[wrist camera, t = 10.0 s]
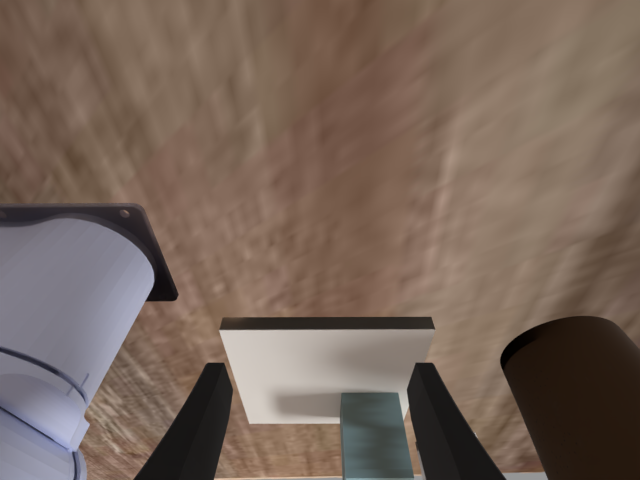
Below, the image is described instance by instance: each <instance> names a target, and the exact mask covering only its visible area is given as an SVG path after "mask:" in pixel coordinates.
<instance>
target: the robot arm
mask: <svg viewBox="0 0 640 480" xmlns="http://www.w3.org/2000/svg"><path fill="white" fill-rule="evenodd" d="M124 210H126V211H127V212H128V213H129V214H128V213H126V212H124ZM178 296H179V294H178V291H177V289H176V286H175V284H174V281H173V279H172V276H171V274H170V271H169V269H168V266H167V264H166V261H165V259H164V256H163V254H162V251H161V249H160V247H159V244H158V242H157V239H156V237H155V234H154V232H153V229H152V227H151V224H150V222H149V219H148V217H147V214H146V212H145V210H144V208H143V207H142V206H141V205H139V204H137V203H12V204H0V480H87V469H86V462H85V459H84V456H83V454H82V453H81V451H80V450H79V448H78V447H79V445H80V443H81V441H82V439H83V437H84V435H85V433H86V431H87V429H88V427H89V425H90V424H89V423H88V422H87V421H86V420H85V418H84V414H85V411H86V409H87V408H88V406H89V404H90V402H91V401H92V399H93V397H94V395H95V393H96V391H97V390H98V388H99V386H100V384H101V382H102V380H103V378H104V377H105V375H106V373H107V371H108V369H109V367H110V365H111V364H112V362H113V360H114V358H115V356H116V354H117V352H118V351H119V349H120V347H121V345H122V343H123V341H124V340H125V338H126V336H127V334H128V332H129V330H130V328H131V327H132V325H133V323H134V321H135V319H136V317H137V315H138V314H139V312H140V310H141V308H142V306H143V304H144V302H157V301H175V300H177V298H178ZM232 395H233V387H232V384H231V381H230V378H229V375H228V372H227V369H226V366H225V363H207V364H206V365H205V367H204V369H203V371H202V373H201V375H200V376H199V378H198V380H197V382H196V384H195V386H194V387H193V389H192V391H191V393H190V394H189V396H188V398H187V400H186V401H185V403H184V405H183V406H182V408H181V410H180V411H179V413H178V415H177V416H176V418H175V419H174V421H173V423H172V424H171V426H170V427H169V429H168V431H167V432H166V434H165V435H164V437H163V438H162V439H161V441H160V442H159V444H158V445H157V447H156V448H155V450H154V451H153V453H152V454H151V456H150V457H149V459H148V460H147V461H146V463H145V464H144V466H143V467H142V468H141V470H140V471H139V472H138V474H137V475H136V476H135V478H134V479H133V480H214V477H215V473H216V469H217V465H218V461H219V457H220V453H221V449H222V445H223V442H224V437H225V433H226V429H227V425H228V421H229V416H230V410H231V403H232ZM407 395H408V403H409V410H410V416H411V421H412V425H413V429H414V433H415V437H416V442H417V445H418V449H419V453H420V457H421V461H422V465H423V469H424V473H425V477H426V480H507V479H506V478H505V477H504V475H503V474H502V473H501V471H500V470H499V468H498V467H497V466H496V464H495V463H494V462H493V460H492V459H491V457H490V456H489V454H488V453H487V452H486V450H485V449H484V447H483V446H482V444H481V443H480V441H479V440H478V438H477V437H476V435H475V434H474V432H473V431H472V429H471V428H470V426H469V424H468V423H467V421H466V420H465V418H464V416H463V415H462V413H461V412H460V410H459V408H458V407H457V405H456V403H455V402H454V400H453V398H452V396H451V395H450V393H449V391H448V389H447V388H446V386H445V384H444V382H443V380H442V378H441V377H440V375H439V373H438V371H437V369H436V367H435V365H434V364H433V363H415V366H414V369H413V372H412V375H411V378H410V381H409V384H408V387H407Z"/></svg>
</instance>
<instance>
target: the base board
mask: <svg viewBox="0 0 640 480" xmlns="http://www.w3.org/2000/svg"><path fill="white" fill-rule="evenodd" d="M219 332H220V335H221V338H222V341H223V344H224V347H225V350H226V353H227V357H228V360H229V363H230V366H231V369H232V372H233V375H234V378H235V381H236V384H237V387H238V390H239V393H240V397H241V400H242V403H243V406H244V409H245V412H246V415H247V418H248V421H249V424H340V406H341V393H398V394H399V399H400V405H401V410H402V415H403V421H404V418H405V415H406V413H407V410H408V407H409V403H408V395H407V387H408V384H409V381H410V378H411V375H412V372H413V369H414V366H415V363H424V361H425V358H426V356H427V353H428V350H429V347H430V344H431V341H432V338H433V336H434V333H435V327H434V323H433V320H432V317H223V318H222V322H221V325H220V329H219Z"/></svg>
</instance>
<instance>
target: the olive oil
mask: <svg viewBox="0 0 640 480" xmlns="http://www.w3.org/2000/svg"><path fill="white" fill-rule="evenodd" d="M500 365H501V368H502V370H503V373H504V375H505V378H506V380H507V382H508V385H509V387H510V389H511V392H512V394H513V396H514V398H515V401H516V403H517V405H518V408H519V410H520V412H521V416H522V417H523V420H524V423H525V425H526V427H527V430H528V432H529V434H530V437H531V439H532V442H533V444H534V447H535V449H536V452H537V454H538V456H539V459H540V461H541V464H542V466H543V469H544V471H545V474H546V476H547V478H548V480H640V349H639V348H638V347H637V345H636V344H635V343H634V342H633V341H632V340H631V339H630V338H629V337H628V336H627V334H626V333H625V332H624V331H623V330H622V329H621V328H620V327H619V326H618V325H617V324H615V323H614V322H612V321H610V320H608V319H605V318H601V317H595V316H572V317H565V318H560V319H556V320H552V321H549V322H546V323H543V324H540V325H537V326H535V327H533V328H531V329H529V330H527V331H525V332H523V333H522V334H520V335H519V336H517V337H516V338H514V339H513V340H512V341H511V342H510V343H509V344H508V345H507V346H506V347H505V349H504V350H503V352H502V354H501V357H500Z"/></svg>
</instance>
